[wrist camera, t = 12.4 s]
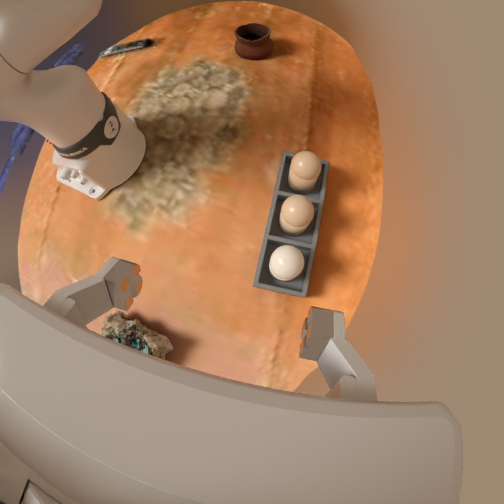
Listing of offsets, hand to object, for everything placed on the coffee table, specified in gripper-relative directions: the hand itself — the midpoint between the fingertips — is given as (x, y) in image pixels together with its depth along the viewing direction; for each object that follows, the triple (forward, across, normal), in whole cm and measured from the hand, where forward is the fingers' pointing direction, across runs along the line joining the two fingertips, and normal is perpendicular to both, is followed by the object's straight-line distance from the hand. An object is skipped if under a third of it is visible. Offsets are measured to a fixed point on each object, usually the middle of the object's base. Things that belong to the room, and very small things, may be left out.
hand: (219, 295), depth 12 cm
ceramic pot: (+58, +11, -16) cm, 62 cm away
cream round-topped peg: (+24, -4, +16) cm, 29 cm away
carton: (+30, -4, +12) cm, 32 cm away
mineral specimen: (+12, +16, +29) cm, 36 cm away
